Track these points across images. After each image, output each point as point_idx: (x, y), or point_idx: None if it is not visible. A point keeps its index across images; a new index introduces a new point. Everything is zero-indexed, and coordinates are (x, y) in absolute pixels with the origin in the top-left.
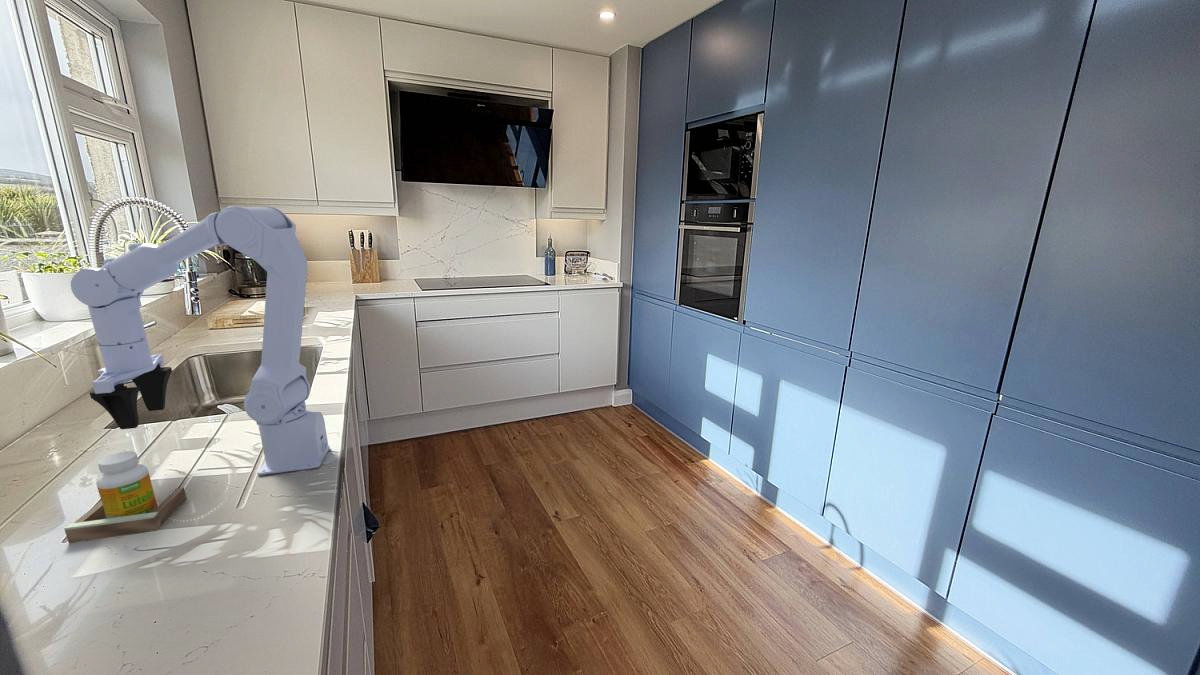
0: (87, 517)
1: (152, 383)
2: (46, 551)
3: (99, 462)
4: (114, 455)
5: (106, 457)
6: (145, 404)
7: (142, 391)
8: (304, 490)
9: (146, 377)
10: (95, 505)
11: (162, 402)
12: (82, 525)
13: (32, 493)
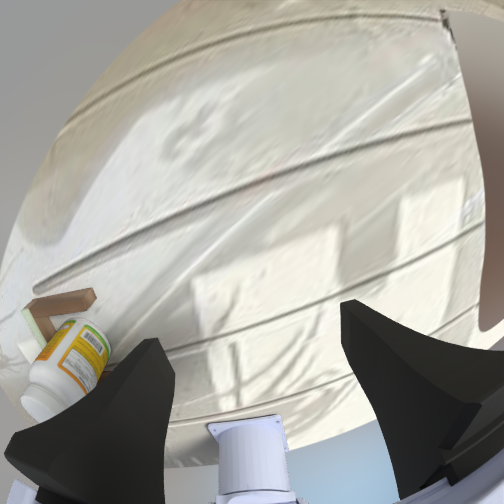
0: (43, 316)
1: (396, 429)
2: (20, 285)
3: (22, 399)
4: (42, 409)
5: (32, 402)
6: (353, 315)
7: (388, 360)
8: (180, 457)
9: (420, 447)
10: (62, 303)
11: (352, 369)
12: (30, 329)
13: (144, 65)
